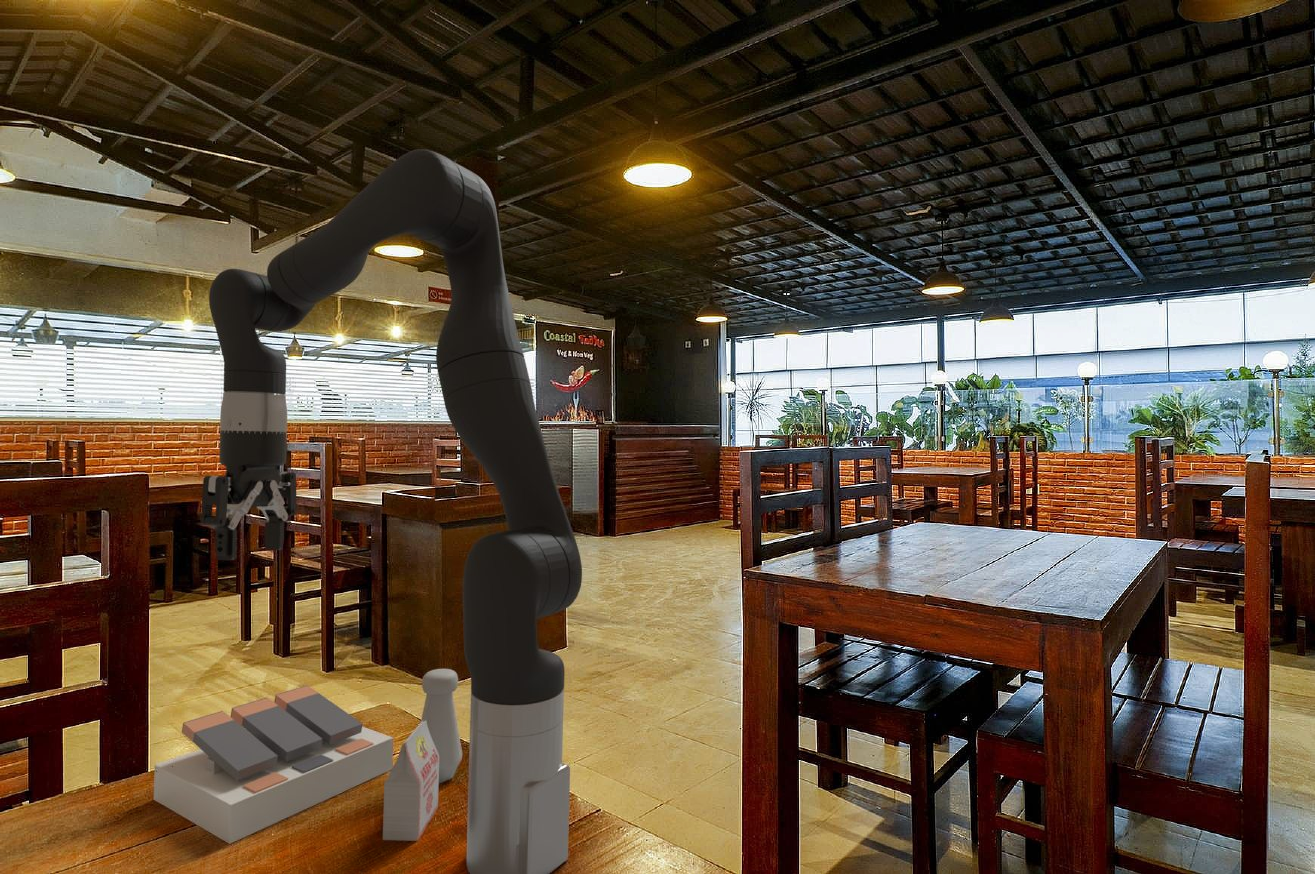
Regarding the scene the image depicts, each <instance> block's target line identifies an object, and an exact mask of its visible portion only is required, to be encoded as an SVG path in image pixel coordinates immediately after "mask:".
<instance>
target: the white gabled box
mask: <svg viewBox="0 0 1315 874" xmlns="http://www.w3.org/2000/svg"><path fill="white" fill-rule="evenodd" d="M393 764H394V765H393V768H392V770H390V772H389V774H388V776H387V778H386V779H385V781H384V783H383V787H384V788H383V791H384V792H383V817H382V818H383V819H382V821H383V824H382V840H383V841H407V842H409V841H411V842H413V841H414V842H415V841H416V842H417V841H419V840H420V838H421V836H423V833H424V831H425V829H426V828H427V827H428V825H429V823H430V822H431V820H432V818H433V817H434V815H435V813H436V812H437V810H438V809H439V785H440V783H439V754H438V752H437V749H436V747H435V745H434V742H433V740H432V738H431V736H430V733H429V730H428V727H427V721H426V720H425V721H424V722H423V721H422V722H421V721H420V723H419V724H418V725H417V726H416V728H415V729H414V730H413V731H412V732H411V733H410V735H409V736H408V737H407V739H405V741H404V742H403V743H402V744H401V747H400V751H399V753H398V756H397V758H396V761H395V762H394V763H393Z"/></svg>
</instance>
